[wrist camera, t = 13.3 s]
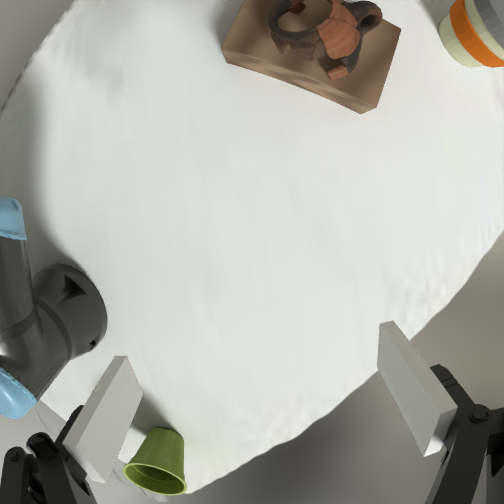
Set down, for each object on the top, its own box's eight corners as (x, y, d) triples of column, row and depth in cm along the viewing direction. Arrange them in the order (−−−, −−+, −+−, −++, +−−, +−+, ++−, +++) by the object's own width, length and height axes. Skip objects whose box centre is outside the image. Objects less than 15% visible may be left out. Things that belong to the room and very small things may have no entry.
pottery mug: (314, 100, 29) (284, 60, 22) (278, 49, 31) (245, 10, 24) (405, 54, 24) (397, 4, 17) (358, 7, 26) (339, -39, 19)
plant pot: (133, 439, 51) (117, 478, 41) (146, 410, 48) (128, 454, 38) (185, 460, 53) (175, 501, 42) (205, 435, 50) (196, 481, 39)
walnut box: (227, 63, 33) (221, 47, 27) (260, -5, 30) (259, -27, 24) (359, 114, 34) (376, 107, 29) (384, 44, 31) (401, 29, 25)
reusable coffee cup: (495, 85, 31) (558, 73, 16) (437, 69, 31) (502, 43, 17) (479, 20, 27) (532, -6, 13) (420, 0, 28) (469, -42, 13)
